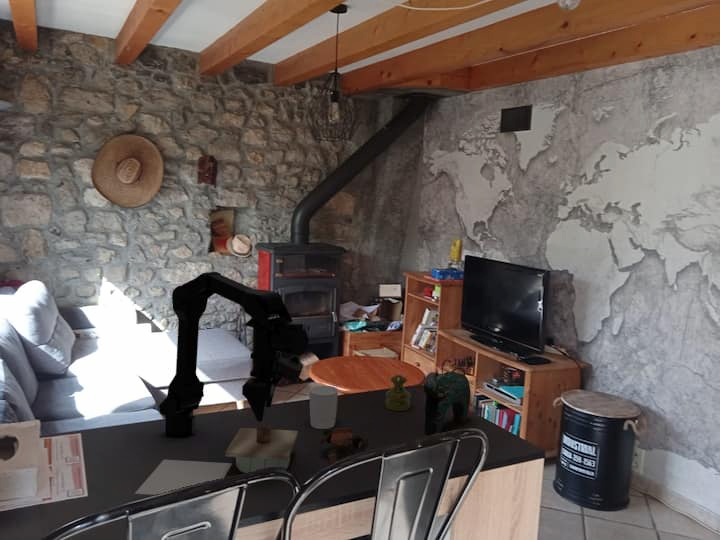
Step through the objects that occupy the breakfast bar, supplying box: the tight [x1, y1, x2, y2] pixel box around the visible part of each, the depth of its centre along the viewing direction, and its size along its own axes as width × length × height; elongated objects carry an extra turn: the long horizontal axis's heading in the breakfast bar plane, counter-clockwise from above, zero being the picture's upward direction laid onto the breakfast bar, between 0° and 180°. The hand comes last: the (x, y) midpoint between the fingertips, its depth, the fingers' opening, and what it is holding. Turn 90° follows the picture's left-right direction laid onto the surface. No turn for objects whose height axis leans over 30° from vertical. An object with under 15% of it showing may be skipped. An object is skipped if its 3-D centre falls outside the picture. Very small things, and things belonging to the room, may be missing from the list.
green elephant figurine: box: [423, 358, 471, 436], centre depth 164 cm, size 20×6×20 cm, turn 139°
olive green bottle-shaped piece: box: [385, 374, 411, 412], centre depth 180 cm, size 7×7×10 cm
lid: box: [224, 424, 299, 460], centre depth 137 cm, size 14×14×5 cm
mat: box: [134, 459, 233, 496], centre depth 129 cm, size 16×16×1 cm
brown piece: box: [320, 427, 369, 465], centre depth 144 cm, size 12×10×8 cm
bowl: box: [235, 456, 291, 474], centre depth 137 cm, size 12×12×5 cm
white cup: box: [309, 385, 339, 430], centre depth 164 cm, size 8×8×10 cm
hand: (264, 414), depth 136 cm, fingers open, 9 cm apart
